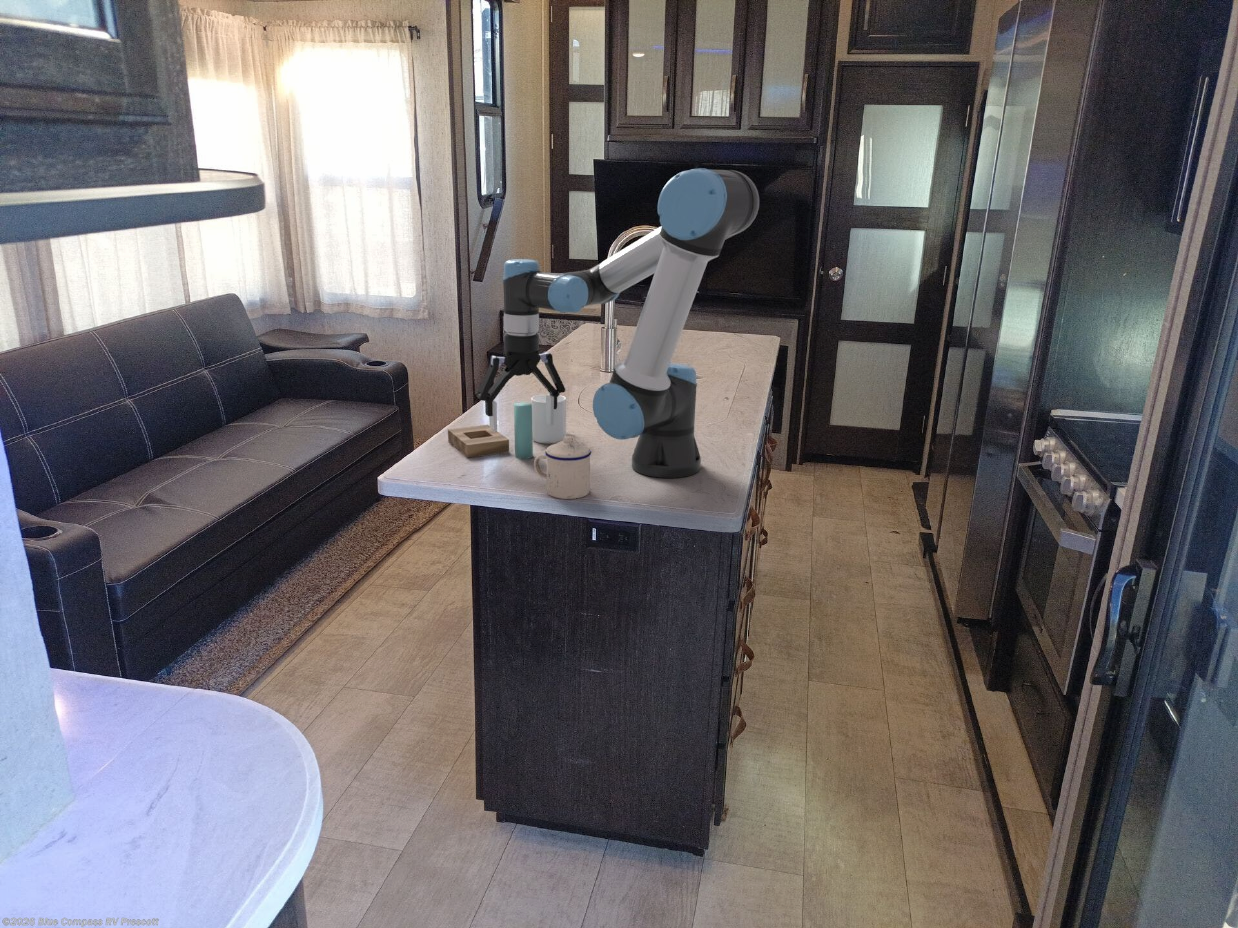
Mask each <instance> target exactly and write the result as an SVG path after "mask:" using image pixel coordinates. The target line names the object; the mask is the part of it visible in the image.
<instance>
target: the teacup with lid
mask: <svg viewBox="0 0 1238 928" xmlns="http://www.w3.org/2000/svg"><path fill="white" fill-rule="evenodd" d="M544 453H545V454H543V453H542V454H539V455H537V456H536V457H535V458H534V460H533V468H534V471H535V473H536V474H537V475H538V476H539V477H540V478H542V479H545V480H546V492H547V494H548V495H549V496H551V497H552V498H556V499H562V500H575V499H576V498H577V499H580V498H584V497H586V496H587V495H589V494H590V490H591V487H590V486H591V480H590V479H591V455H592V451H591V448H590V447H589V446H588V445H586V444H584V443H583V444H582V443H580V442H578V441H576V440H574V437H573V436H571V435H566V436H565V437H564V438H563V441H560V442H558V443H552V444H551V445H549V446H548V447H547V448H546V450H545V452H544ZM541 459H544V460H546V473H545V472H543V471H542V470H541V468H540V465H539V462H540V461H539V460H541Z"/></svg>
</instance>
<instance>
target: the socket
mask: <svg viewBox="0 0 1238 928" xmlns="http://www.w3.org/2000/svg"><path fill="white" fill-rule="evenodd" d="M447 440H448V441H447V442H448V443H450V445H452V447H454V448H455V449H456V450H457V451H459V452H460V453H461V454H462V455H463V456H464V457H466V458H467V459H469V458H476V457H483V456H490V455H499V454H506V453H510V440H509V438H507V437H506V436H504V435H503V434H502V433H500V432H499V431H498V430H497V431H493V430H491V429H490V424H484V425H483V424H482V425H474V426H473V425H472V426H466V427H457V428H449V429H447Z"/></svg>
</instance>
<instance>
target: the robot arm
mask: <svg viewBox="0 0 1238 928" xmlns="http://www.w3.org/2000/svg"><path fill="white" fill-rule="evenodd" d="M759 208H760V195H759V190H758V189H757V187H756V184H755V183H754V182H753V181H752V179H750V177H749V176H747V175H746V174H744V173H742V172H741V171H737V170H734V169H708V168H705V167H704V168H703V167H702V168H701V167H699V168H692V169H689V170H683V171H681V172H679V173H677V174H676V175H674V176H672V177H671V178H670V179H669V180H668V181H667V182H666V184H665V185H664V187H663V188H662V190H661V192H660V194H659V197H658V202H657V214H658V216H659V223H660V225H661V226H658V227H657V228H655V229H654V230H652V231H651V232H649V233H647V234H645V235H644V236H642V237H640V238H639V239H637V240H636V241H634V242H632V243H631V244H629V245H628V246H626V247H624V248H623V249H621V250H619V251H618V252H616V253H614V254H613V255H611V256H609V257H608V258H606V259H604V260H603V261H601V262H600V263H598V264H596V265H595V266H593V267H591V268H589V269H584V270H578V271H569V272H562V273H555V272H544V271H541V269H540V263H539V262H538V261H537V260H535V259H530V258H529V259H526V258H523V259H522V258H519V259H518V258H516V259H515V258H514V259H508V260H506V261H505V262H504V264H503V277H502V285H503V286H502V287H503V331H505V333H504V335H503V340H504V341H503V342H504V343H503V349H504V350H503V351H504V352H503V353H504V354H503V356H496V355H493V354H492V355H491V356H490V358H489V366H488V368H487V370H486V373H485V375H484V376H483V379H482V381H481V384H480V386H479V388H478V390H477V393H476V398H477V399H479V400H480V401H483V402H484V403H485V404H484V405H485V406H484V408H485V409H484V410H485V411H484V413H485V416H487V417H489V421H488V422H489V426H490V429H491V430H493V431H498V410H497V407H498V403H497V402H496V401H495V399H496V398H497V396H498V395H499V394H500V392H501V391H502V390H503V389H504V388H505V386H506V384H507V383H508V382H509V381H510V379H512V378H513V377H514V376H515V377H517V376H518V377H520V376H522V375H524V376H530V375H531V374H533V375H534V376H535V378H536V379H537V380H538V381H539V382H540V383H541V384H542V386H543V387H544V388H545V390H546V391H547V392H548V393H547V394H546V422H547V423H548V424H550V425H554V409H557V397H558V396H559V395H561V394H562V393H565V392H566V387H565V385H564V383H563V380H562V378H561V377H560V375H559V372H558V370H557V368H556V366H555V365H554V360H553V354H552V353H550V352H548V351H543V353H540V352H539V349H540V345H539V344H540V340H539V339H540V336H539V334H538V332H539V331H540V309H543V310H548V311H549V310H550V311H553V312H560V313H562V314H566V313H570V314H573V313H575V314H576V313H579V312H580V311H582V309H583V308H585V307H589V306H595V305H604V304H607V303H610V302H614V301H615V300H616V299H617V298H618V297H619V296H620V294H621V292H623V291H625V290H627V289H628V288H631V287H632V286H635V285H636V284H637V283H639V282H642V281H643V280H644V279H646V278H648V277H650V276H652V275H653V277H652V280H651V283H650V287H649V289H648V291H647V295H646V298H645V301H644V304H643V307H642V309H641V312H640V315H639V318H638V321H637V325H636V327H635V330H634V332H633V336H632V338H631V341H630V345H629V348H628V350H627V354H626V357H625V358H624V359H621V360H619V361H617V362H616V363H615V365H614V368H613V371H612V373H611V377H610V379H609V382H607V383H604V384H603V385H601V386H600V387H599V388H598V389H597V390H596V391H595V393H594V396H593V398H592V412H593V417H595V418H596V421H597V424H598V426H599V427H600V428H601V429H602V430H603V431H602V432H604V433H605V434H607V435H608V436H610V437H611V438H612V439H615V440H621V441H622V440H630V439H634V438H637V442H636V445H635V447H634V450H633V454H632V455H631V468H632V469H633V470H634V471H635V472H637V473H639V474H642V475H643V476H644V475H645V476H649V477H653V478H654V477H655V478H664V479H667V478H668V479H671V478H672V479H673V478H674V479H675V478H683V477H689V476H693V475H695V474H697V473H699V472H700V471H701V466H702V459H701V454H700V451H699V447H698V443H697V439H696V436H695V419H696V405H697V404H696V402H697V401H696V399H697V387H698V383H697V371H696V369H694V368H693V367H692V366H689V365H685V364H680V363H673V362H672V359H673V357H674V353H675V351H676V348H677V346H678V344H679V341H680V338H681V335H682V332H683V329H684V327H685V323H686V322H687V319H688V316H689V314H690V310H691V308H692V305H693V302H694V300H695V298H696V294H697V292H698V289H699V287H700V284H701V281H702V278H703V275H704V272H705V270H706V267H707V265H708V262H710V261H712V260H713V259H716V258H718V257H719V256H720V254H721V251H722V249H723V246H724V243H725V240H727V239H729V238H732V237H733V236H735V235H737V234H740V233H742V232H744V231H745V230H746V229H748V228H749V227H750V226H751V225H752V223H753V222H754V220H755V219H756V217H757V215H758V211H759ZM540 361H541V362H543V363H544V366H545V368H546V370H547V372H548V374H549V377H550V379H551V381H552V382H553V384H554V386H555V387H554V386H553V385H552V383H551V382H550V381H549V379H548V378H547V377H546V376H545V375H544V374H543V373H542V371H541V370H540V369H539V367H538V365H539V364H540ZM502 364H504V365H505V367H504V368H503V369H502V370H501V373H500V375H499V377H497V379H496V380H495V377H496V375H497V373H498V371H499V368H500V367H501V366H502ZM494 380H495V382H494ZM493 382H494V384H493Z"/></svg>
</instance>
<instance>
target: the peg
mask: <svg viewBox="0 0 1238 928" xmlns="http://www.w3.org/2000/svg"><path fill="white" fill-rule="evenodd" d="M513 414H514V415H513V418H514V419H513V421H514V423H513V424H514V426H513V427H514V457H515V458H517V459H522V460H523V459H531V458H533V455H534V452H533V451H534V450H533V449H534V448H533V447H534V446H533V445H534V444H533V441H534V440H533V436H532V404H531V403H530V402H525V401H523V402H516V403H513Z"/></svg>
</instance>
